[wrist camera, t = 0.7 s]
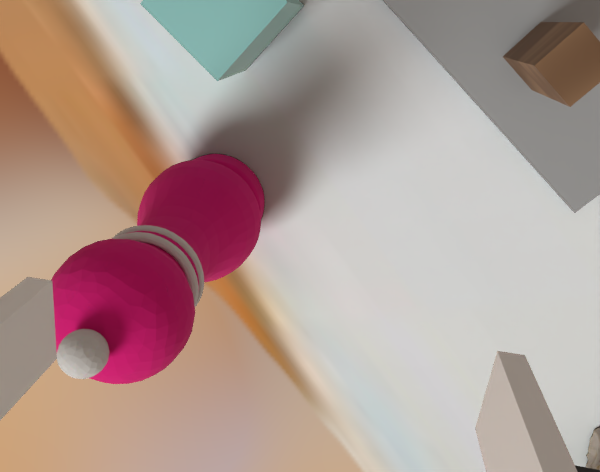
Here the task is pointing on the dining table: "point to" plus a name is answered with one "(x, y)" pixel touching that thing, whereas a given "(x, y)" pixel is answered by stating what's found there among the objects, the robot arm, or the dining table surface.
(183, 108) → the dining table surface
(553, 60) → the post walnut
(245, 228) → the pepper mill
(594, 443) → the rock
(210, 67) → the mint green foam cube
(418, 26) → the stand
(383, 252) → the dining table surface
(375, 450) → the dining table surface
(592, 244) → the dining table surface
